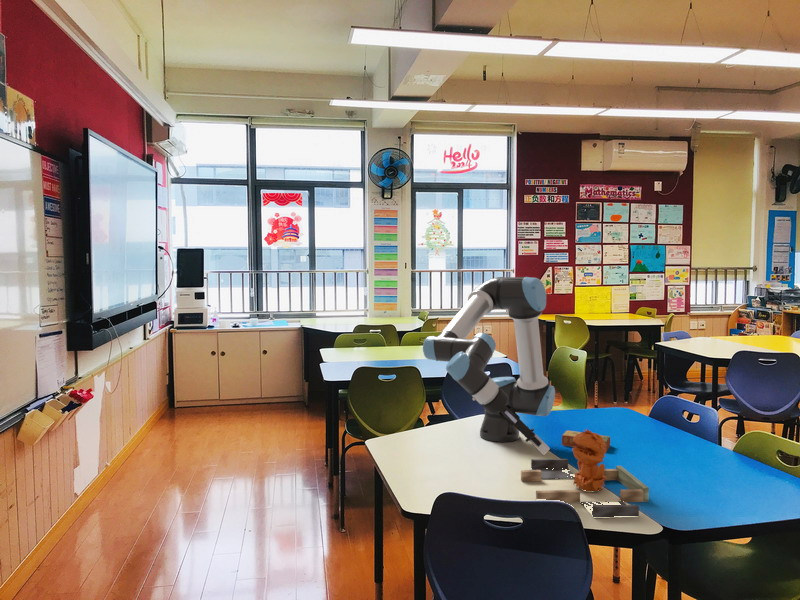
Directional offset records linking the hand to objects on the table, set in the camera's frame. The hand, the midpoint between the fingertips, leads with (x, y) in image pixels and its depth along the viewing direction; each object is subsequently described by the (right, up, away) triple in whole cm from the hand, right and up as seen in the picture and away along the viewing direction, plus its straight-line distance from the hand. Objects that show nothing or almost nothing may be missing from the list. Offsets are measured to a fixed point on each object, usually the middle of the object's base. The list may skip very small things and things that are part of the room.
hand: (546, 451), depth 165 cm
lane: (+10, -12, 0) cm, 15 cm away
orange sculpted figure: (+13, -12, +2) cm, 18 cm away
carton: (+26, -10, +44) cm, 52 cm away
